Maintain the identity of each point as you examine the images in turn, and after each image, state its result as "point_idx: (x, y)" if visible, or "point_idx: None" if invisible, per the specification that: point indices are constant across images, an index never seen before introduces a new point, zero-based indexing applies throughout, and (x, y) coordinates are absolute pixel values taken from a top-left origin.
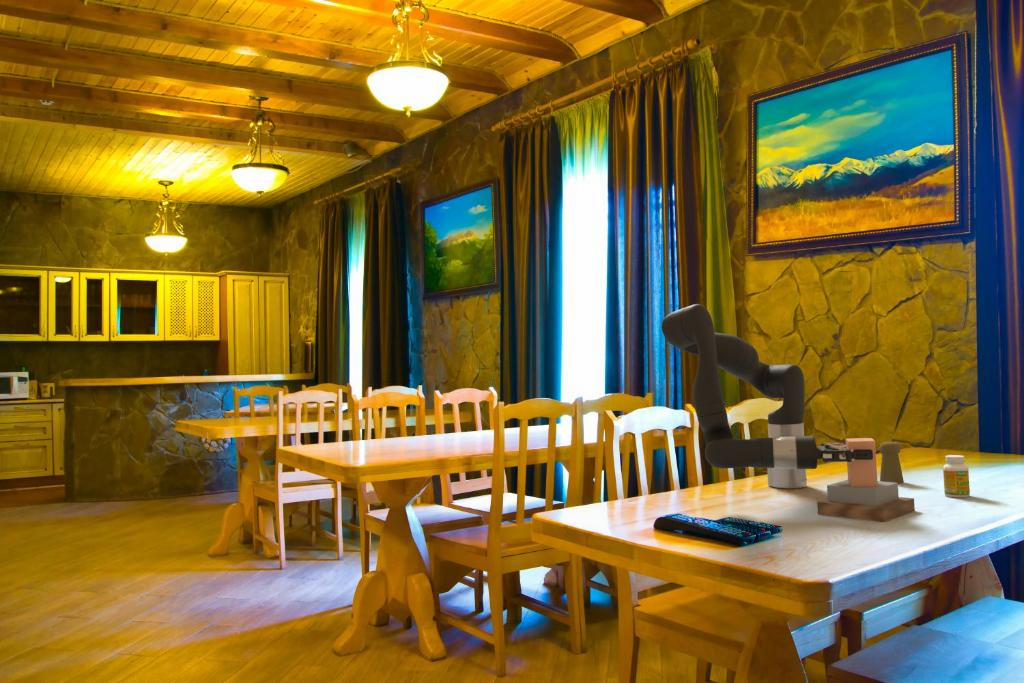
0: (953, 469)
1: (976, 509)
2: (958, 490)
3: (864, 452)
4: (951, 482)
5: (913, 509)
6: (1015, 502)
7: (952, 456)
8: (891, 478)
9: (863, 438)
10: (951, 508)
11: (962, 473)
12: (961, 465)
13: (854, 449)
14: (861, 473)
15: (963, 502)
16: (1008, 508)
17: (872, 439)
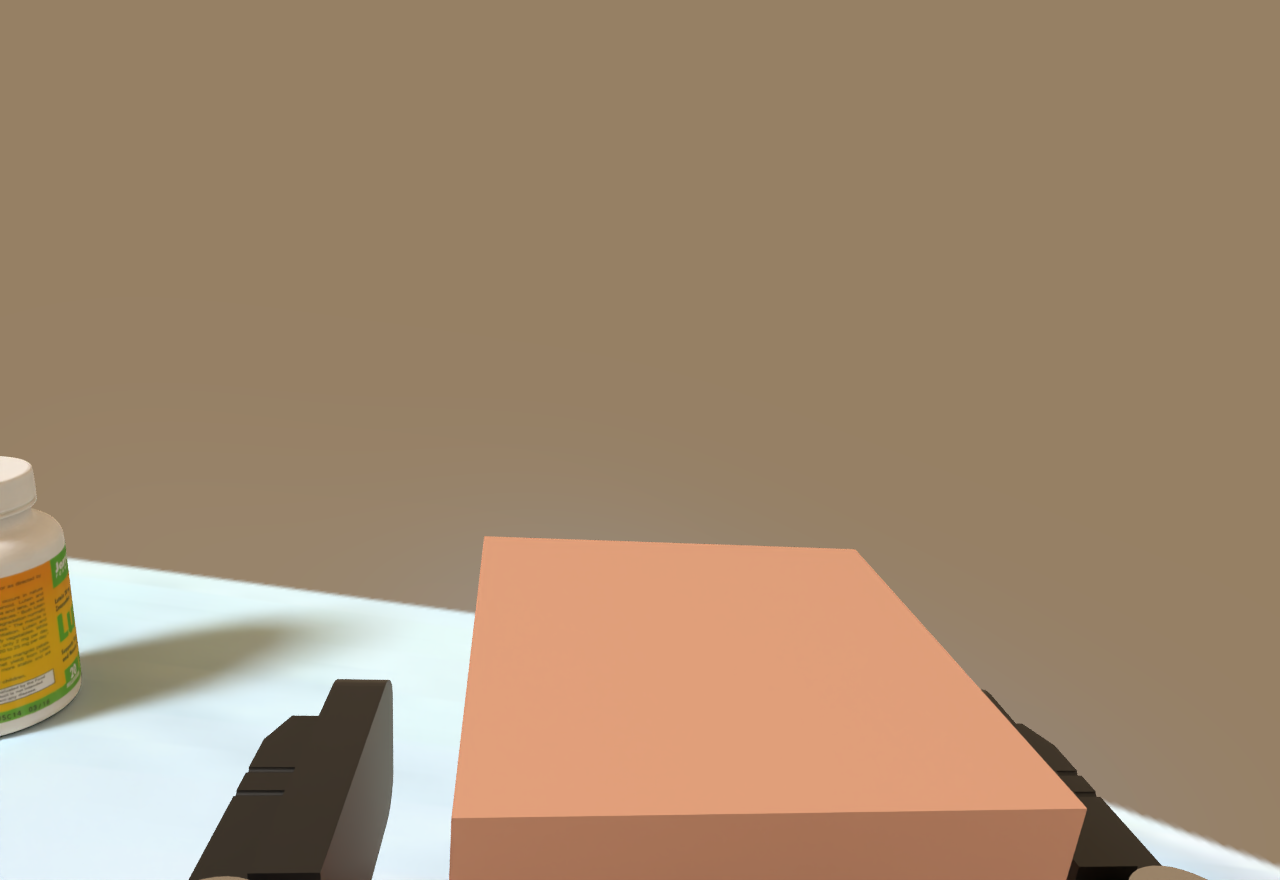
0: (34, 556)
1: (444, 697)
2: (68, 665)
3: (1075, 783)
4: (30, 640)
5: None
6: (285, 588)
7: None
8: None
9: (522, 596)
10: (406, 771)
11: (65, 559)
12: (35, 515)
13: (1093, 861)
14: None
15: (224, 708)
16: (425, 620)
17: (671, 547)
